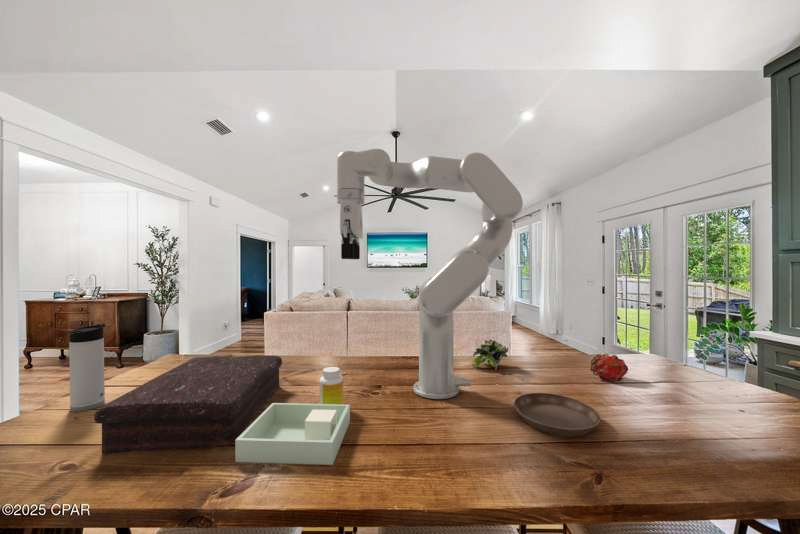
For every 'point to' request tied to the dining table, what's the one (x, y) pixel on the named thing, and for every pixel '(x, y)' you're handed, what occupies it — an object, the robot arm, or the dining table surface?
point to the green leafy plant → (490, 353)
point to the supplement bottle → (331, 386)
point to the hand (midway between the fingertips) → (350, 259)
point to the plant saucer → (557, 414)
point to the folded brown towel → (190, 405)
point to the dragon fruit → (608, 367)
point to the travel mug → (86, 368)
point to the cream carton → (320, 424)
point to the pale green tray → (290, 436)
